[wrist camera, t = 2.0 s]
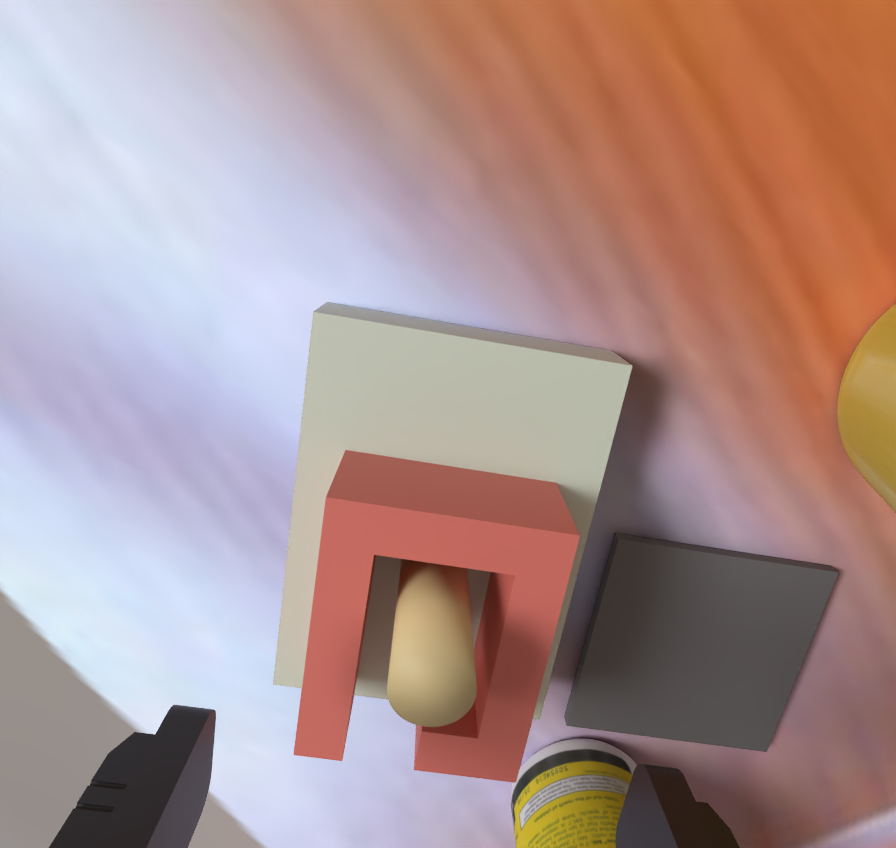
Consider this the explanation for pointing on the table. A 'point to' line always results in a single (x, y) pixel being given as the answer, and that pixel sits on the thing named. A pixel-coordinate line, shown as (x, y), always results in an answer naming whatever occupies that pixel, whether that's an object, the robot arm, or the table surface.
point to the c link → (454, 544)
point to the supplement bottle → (571, 795)
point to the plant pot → (872, 407)
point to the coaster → (696, 642)
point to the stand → (446, 443)
